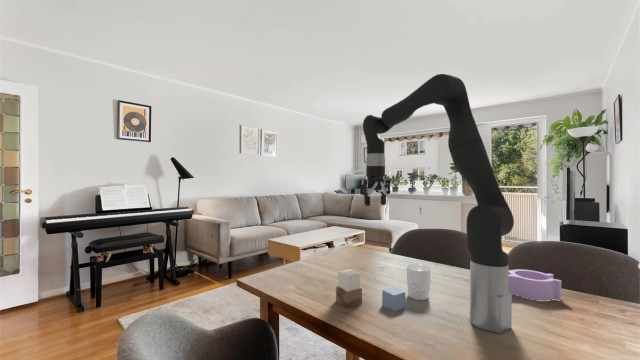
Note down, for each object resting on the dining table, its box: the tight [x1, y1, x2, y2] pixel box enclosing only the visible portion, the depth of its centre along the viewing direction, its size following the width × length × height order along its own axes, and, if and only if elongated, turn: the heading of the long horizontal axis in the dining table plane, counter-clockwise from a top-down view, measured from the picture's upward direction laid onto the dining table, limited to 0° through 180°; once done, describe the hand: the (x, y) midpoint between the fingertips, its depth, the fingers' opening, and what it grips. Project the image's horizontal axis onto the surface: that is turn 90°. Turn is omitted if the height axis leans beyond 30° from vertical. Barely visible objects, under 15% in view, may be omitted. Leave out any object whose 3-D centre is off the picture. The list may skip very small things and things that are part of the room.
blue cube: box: [381, 286, 406, 312], centre depth 93 cm, size 5×5×5 cm
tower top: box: [337, 268, 361, 292], centre depth 96 cm, size 5×5×5 cm
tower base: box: [335, 285, 363, 309], centre depth 96 cm, size 6×6×5 cm
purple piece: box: [508, 268, 562, 301], centre depth 104 cm, size 20×12×7 cm, turn 70°
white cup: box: [406, 263, 432, 301], centre depth 101 cm, size 8×8×10 cm
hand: (375, 205), depth 120 cm, fingers open, 8 cm apart
